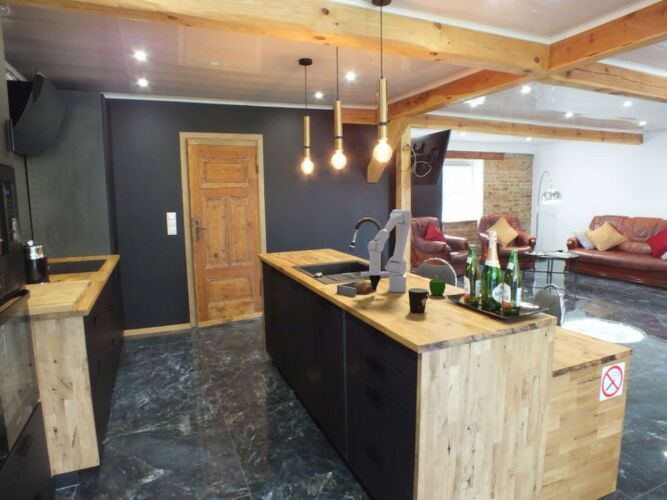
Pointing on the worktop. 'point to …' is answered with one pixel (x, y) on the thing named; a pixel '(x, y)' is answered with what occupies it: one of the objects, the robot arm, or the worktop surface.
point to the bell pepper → (437, 286)
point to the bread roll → (363, 287)
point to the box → (348, 288)
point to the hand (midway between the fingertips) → (374, 289)
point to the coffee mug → (417, 299)
